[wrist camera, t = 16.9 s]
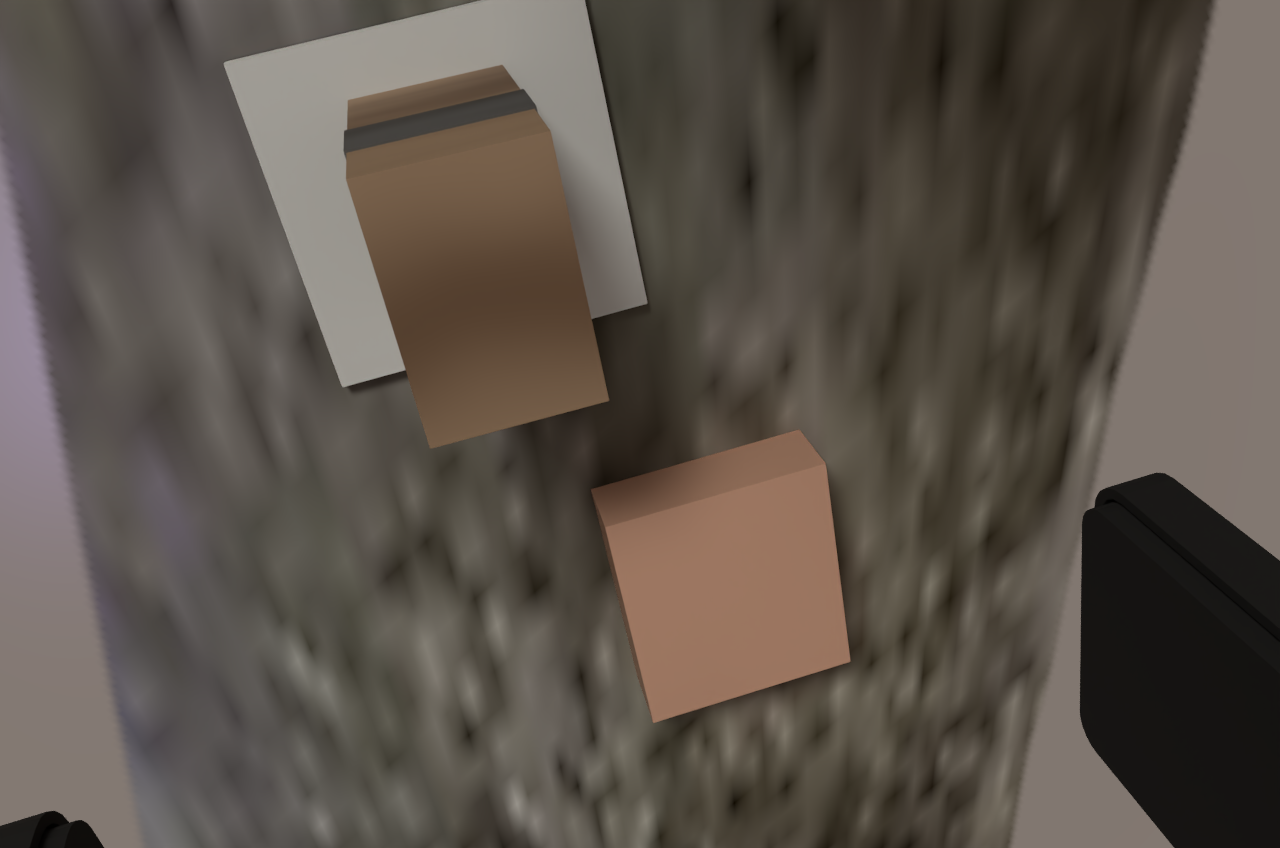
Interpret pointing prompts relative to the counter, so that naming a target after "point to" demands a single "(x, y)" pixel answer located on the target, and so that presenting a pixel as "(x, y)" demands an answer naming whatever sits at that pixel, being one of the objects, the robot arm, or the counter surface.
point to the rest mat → (408, 55)
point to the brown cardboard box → (473, 253)
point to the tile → (726, 573)
